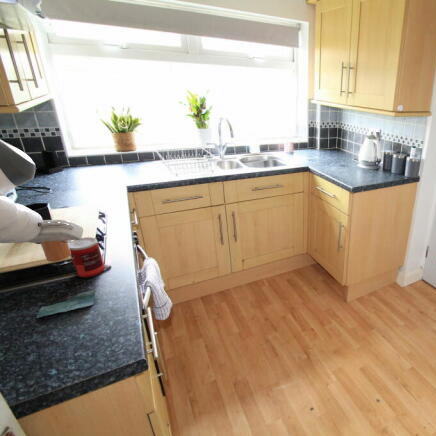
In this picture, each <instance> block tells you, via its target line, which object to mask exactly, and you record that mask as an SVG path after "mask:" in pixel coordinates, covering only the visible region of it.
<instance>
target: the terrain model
mask: <svg viewBox="0 0 436 436" xmlns="http://www.w3.org/2000/svg"><path fill="white" fill-rule="evenodd" d="M96 291H97V290H96V289H94V290H90V291H84V292H80V293H79V294H77V295H74V296H73V297H71V298H70V299H68V300H66V301H62V302H57V303H54V304H51V305H45V306H41V307H40V308H39V310H38V312H37V315H36V317H35V319H39V318H41V317H44V316H51V315H54V314H57V313H65V312H68V311H69V312H70V311H71V310H76V309H82V308H86V307H89V306H92V305H94V302H95V296H96Z"/></svg>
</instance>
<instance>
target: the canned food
mask: <svg viewBox="0 0 436 436" xmlns="http://www.w3.org/2000/svg"><path fill="white" fill-rule="evenodd" d="M68 245H69V248H70V251H71V255H70V256H69V257H70V259H71V262H72V264H73V268H74V271H75V273H76V275H77V276H78V277H80V278H91V277H95V276H97V275H100V274H102V273H103V272H104V270H105V267H106V266H105V263H104V258H103V255H102V251H101V249H100V245H99V243H98V240H97V238H95V237H91V236H90V237H89V236H88V237H82V238H81V239H80V240H71V242H70V243H68Z"/></svg>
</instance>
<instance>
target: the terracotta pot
mask: <svg viewBox="0 0 436 436" xmlns="http://www.w3.org/2000/svg"><path fill="white" fill-rule="evenodd" d="M68 244H69V243H64V242H62V241H44V242H40V244H39V245H40V246H41V250H42V252H43V254H44V257H45V259H46V261H48V262H60V261H63V260H66V259H67V258H69V257H71V256H70V255H71V251H70V248H69V245H68Z"/></svg>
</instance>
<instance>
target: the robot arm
mask: <svg viewBox="0 0 436 436" xmlns="http://www.w3.org/2000/svg"><path fill="white" fill-rule="evenodd" d="M35 174H36V163H35V162H34V161H33V159H32V158H31V157H30V156H29V155H28V154H26V152H24V151H22V150H21V149H19V148H18V147H15V146H13V145H12V144H10V143H8V142H5V141H4V140H2V139H1V138H0V244H24V243H31V244H35V245H41V244H40V242H44V241H62V242H64V243H68V244H69V243H70V242H72V241H74V240H80V239H81V238H83V233H84V227H83V226H81V225H80V224H77V223H75V222H72V221H70V220H66V219H43V217H42V216H41V214H39V213H38V212H36V211H35V210H32V209H31V208H29V207H27V206H25V205H23V204H21V203H18V202H15V201H14V200H13V199H11V198H9V197H8V196H6V195H5V194H7V193H9V192H11V191H12V190H14V189H15V188H17V187H20V186H22V185H24V184H26V183H28V182H31V181H32V180H34V178H35Z"/></svg>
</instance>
